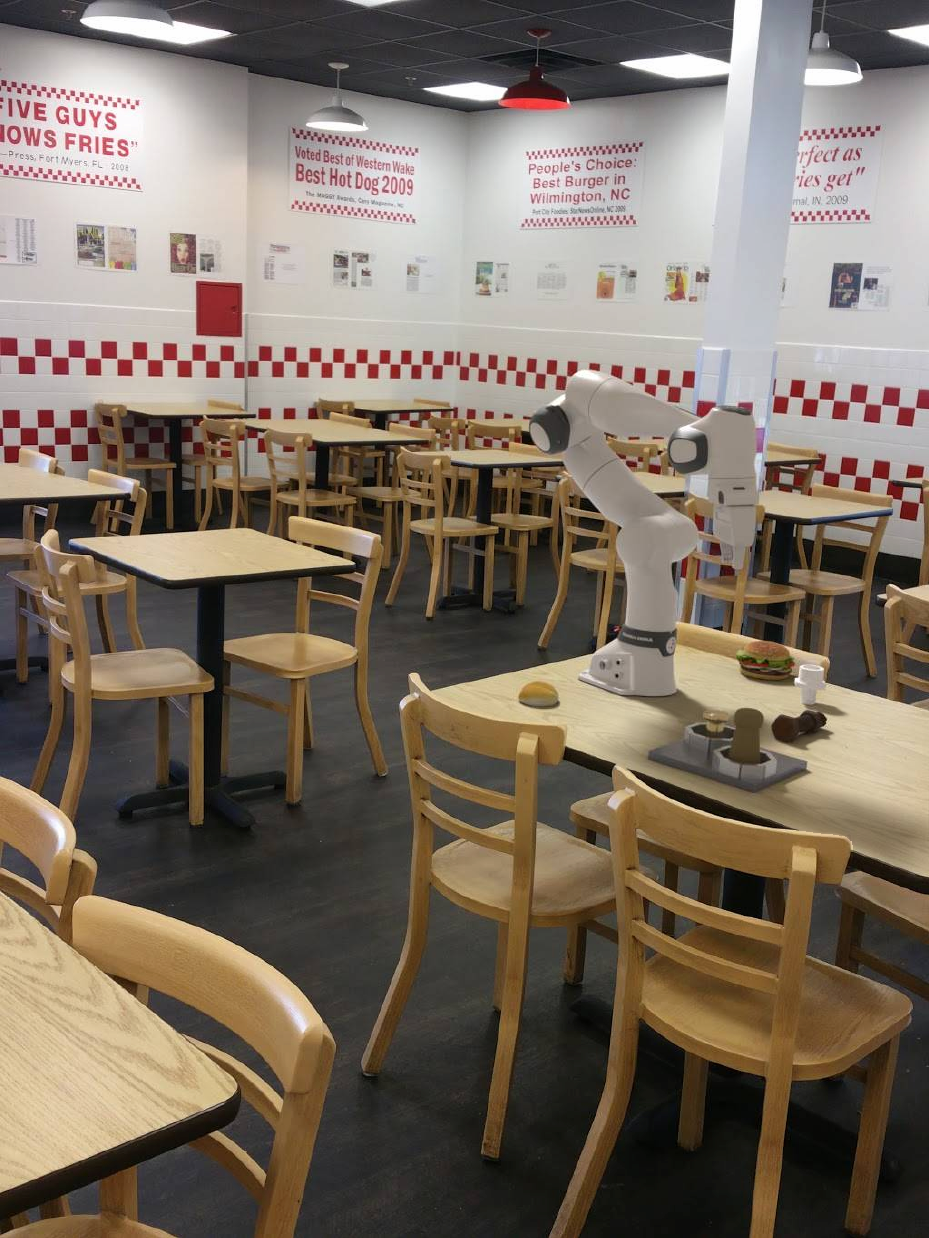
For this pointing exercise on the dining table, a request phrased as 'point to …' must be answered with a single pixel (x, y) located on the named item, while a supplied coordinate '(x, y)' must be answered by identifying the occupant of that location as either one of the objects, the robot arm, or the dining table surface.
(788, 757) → the bolt plate
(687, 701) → the dining table surface
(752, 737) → the cork
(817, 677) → the pipe fitting
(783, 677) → the food
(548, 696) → the bread roll
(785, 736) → the bolt
